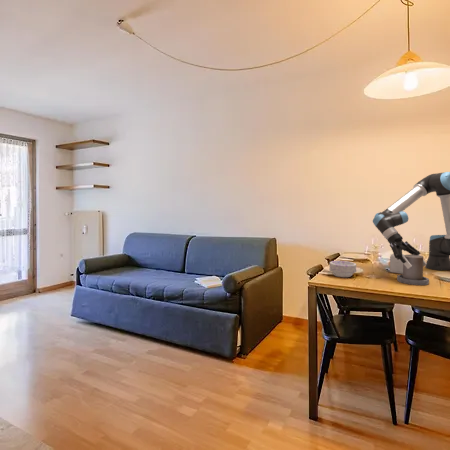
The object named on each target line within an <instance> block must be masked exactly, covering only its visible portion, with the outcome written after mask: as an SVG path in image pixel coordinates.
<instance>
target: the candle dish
mask: <svg viewBox="0 0 450 450" xmlns="http://www.w3.org/2000/svg"><path fill="white" fill-rule="evenodd" d="M396 279H397V282H399V283H401V284H405V285H411V286H427V285H429V283H430V279H429V278H428V277H425V276H423V280H410V279H404V278H403V274H397V277H396Z"/></svg>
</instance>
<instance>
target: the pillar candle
mask: <svg viewBox="0 0 450 450" xmlns="http://www.w3.org/2000/svg"><path fill="white" fill-rule="evenodd" d="M403 256H404V257H405V258H406V259H407V260H408V261H409V263H410V264H411V265H412V266H411V267H410V268H409V269H407V267H406V266H405V265H404V264H403V274H402V275H403V278H404V279H410V280H423V277H424V266H423V260H424V256H423V255H421V254H419V255H414V254H413V255H412V254H404V255H403Z"/></svg>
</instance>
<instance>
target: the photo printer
mask: <svg viewBox="0 0 450 450" xmlns="http://www.w3.org/2000/svg"><path fill="white" fill-rule="evenodd" d="M402 255H405V254H403V253H402ZM402 257H403V256H402ZM389 272H390V273H392V274H393V273H394V274H399V275H403V263H402V261H401V260H400V259H399V260H398V259H397V258H395V256H394V253H391V254H390V256H389Z"/></svg>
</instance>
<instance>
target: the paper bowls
mask: <svg viewBox="0 0 450 450" xmlns="http://www.w3.org/2000/svg"><path fill="white" fill-rule="evenodd" d="M329 272H332V274H333V276H335V277H338V278H350V277H352V276H353V275H354V273H355V274H356V272H357V263H356V262H352V261H347V260H332V261H329Z"/></svg>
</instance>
